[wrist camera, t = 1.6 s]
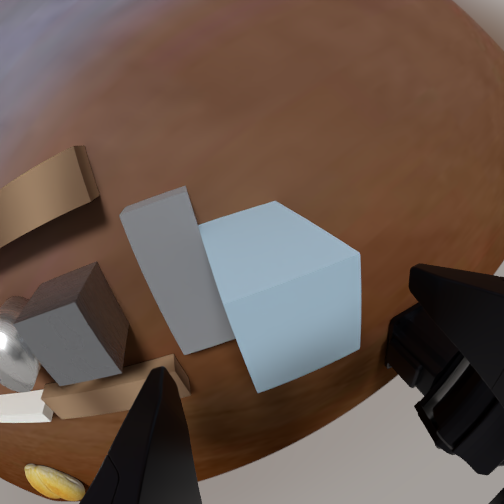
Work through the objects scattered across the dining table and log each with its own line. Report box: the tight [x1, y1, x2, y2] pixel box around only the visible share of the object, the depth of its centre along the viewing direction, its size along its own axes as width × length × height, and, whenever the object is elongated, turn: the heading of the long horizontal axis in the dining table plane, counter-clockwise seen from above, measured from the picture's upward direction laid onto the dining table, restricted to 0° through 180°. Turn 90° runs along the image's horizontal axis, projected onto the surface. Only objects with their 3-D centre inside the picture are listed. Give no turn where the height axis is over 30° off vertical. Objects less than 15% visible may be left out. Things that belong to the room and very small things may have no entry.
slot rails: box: [0, 146, 191, 419], centre depth 12 cm, size 11×15×2 cm
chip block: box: [13, 261, 129, 386], centre depth 11 cm, size 4×4×4 cm
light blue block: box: [119, 186, 361, 393], centre depth 11 cm, size 7×8×7 cm
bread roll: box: [25, 464, 85, 501], centre depth 17 cm, size 8×9×4 cm
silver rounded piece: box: [0, 296, 42, 392], centre depth 10 cm, size 4×4×4 cm
